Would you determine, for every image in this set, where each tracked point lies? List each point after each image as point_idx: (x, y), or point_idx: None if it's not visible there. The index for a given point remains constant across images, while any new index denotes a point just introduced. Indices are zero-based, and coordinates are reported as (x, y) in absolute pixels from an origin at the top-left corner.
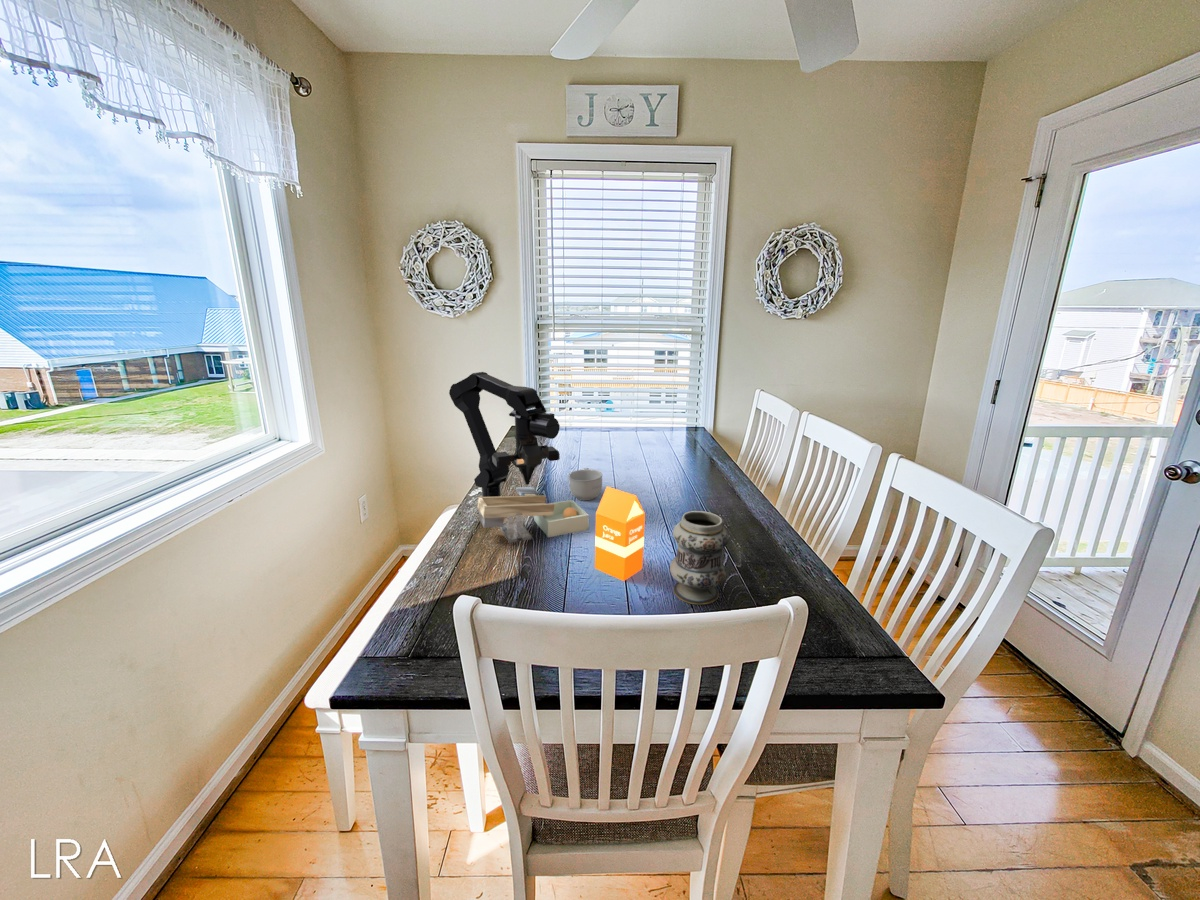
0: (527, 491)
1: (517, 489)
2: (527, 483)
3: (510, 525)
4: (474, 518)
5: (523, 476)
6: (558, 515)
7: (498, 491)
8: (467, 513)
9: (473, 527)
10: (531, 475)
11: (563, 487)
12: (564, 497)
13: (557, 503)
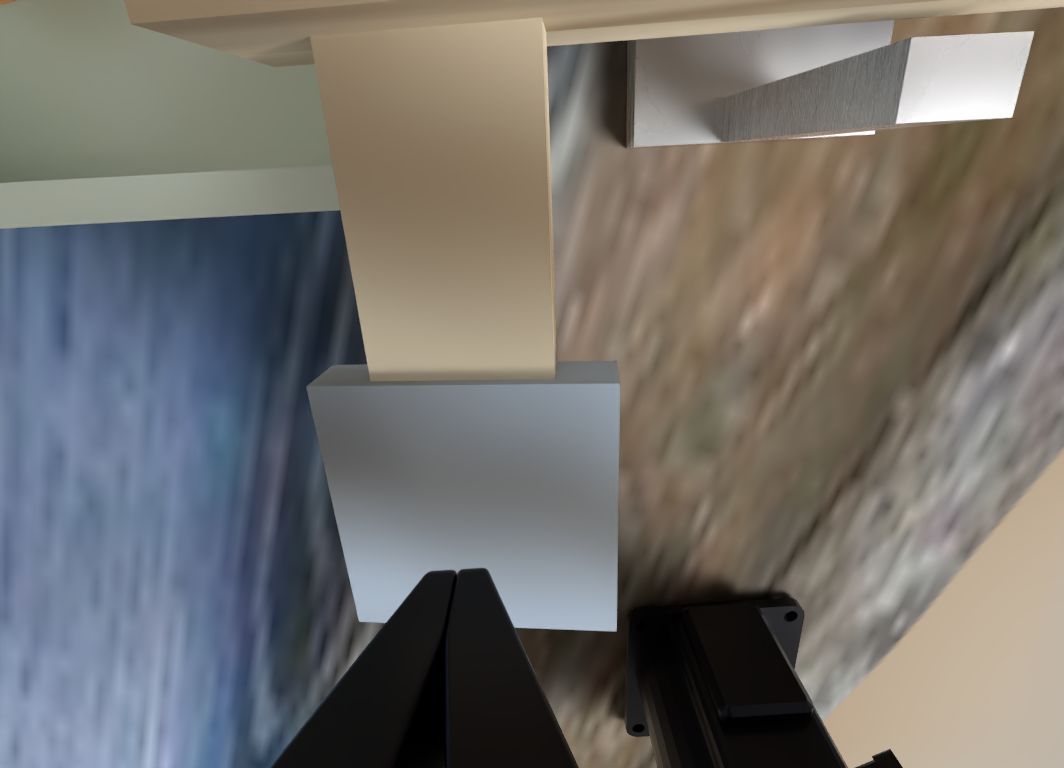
0: (478, 460)
1: (616, 572)
2: (455, 583)
3: (776, 48)
4: (956, 421)
5: (568, 756)
6: (161, 152)
7: (713, 718)
8: (958, 528)
9: (1059, 235)
10: (284, 764)
11: (87, 761)
12: (86, 597)
13: (58, 180)
